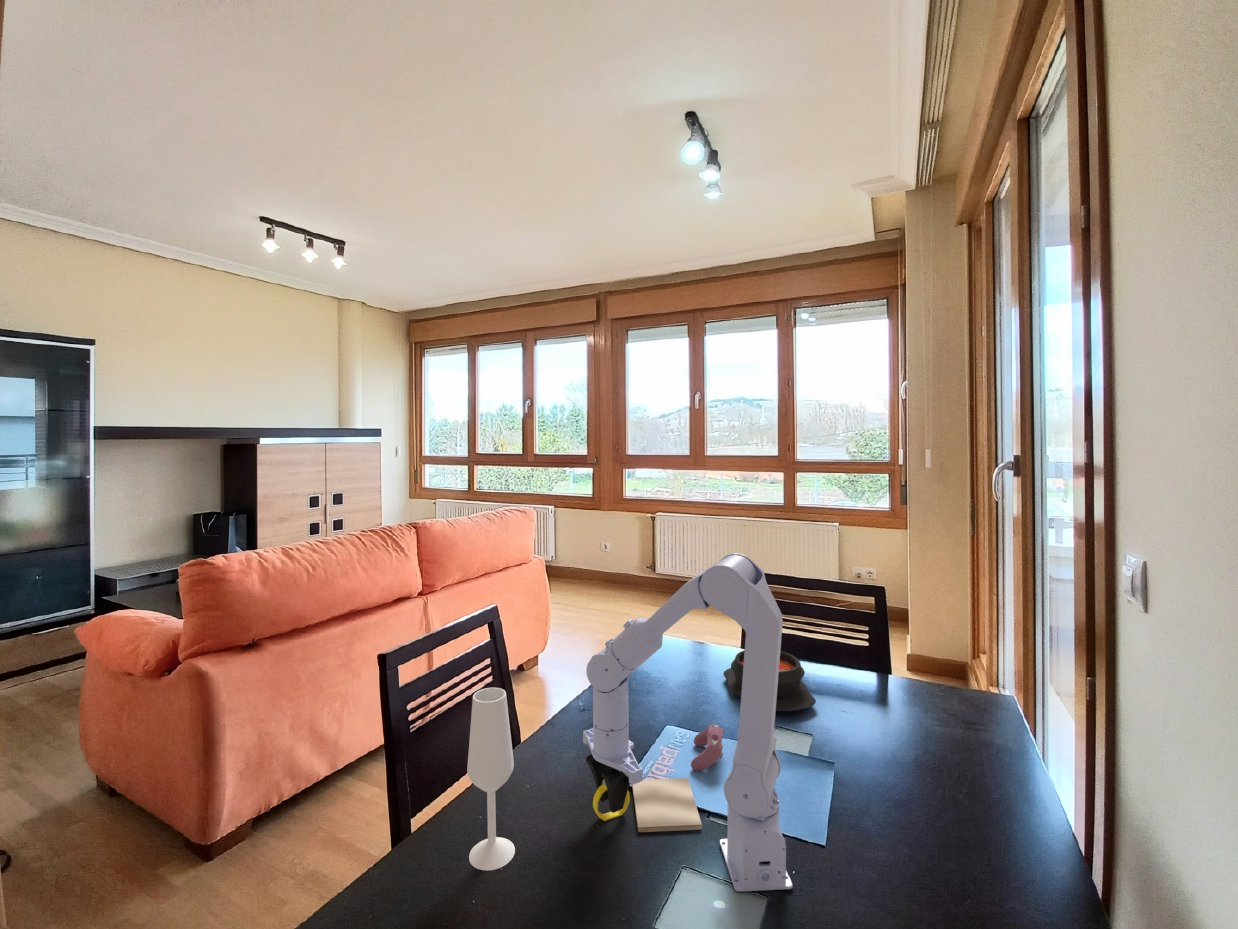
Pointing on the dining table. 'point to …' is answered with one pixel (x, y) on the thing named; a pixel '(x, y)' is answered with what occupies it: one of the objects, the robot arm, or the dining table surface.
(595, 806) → the watch
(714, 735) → the video game controller
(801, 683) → the casserole
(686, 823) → the wooden board
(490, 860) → the champagne flute
